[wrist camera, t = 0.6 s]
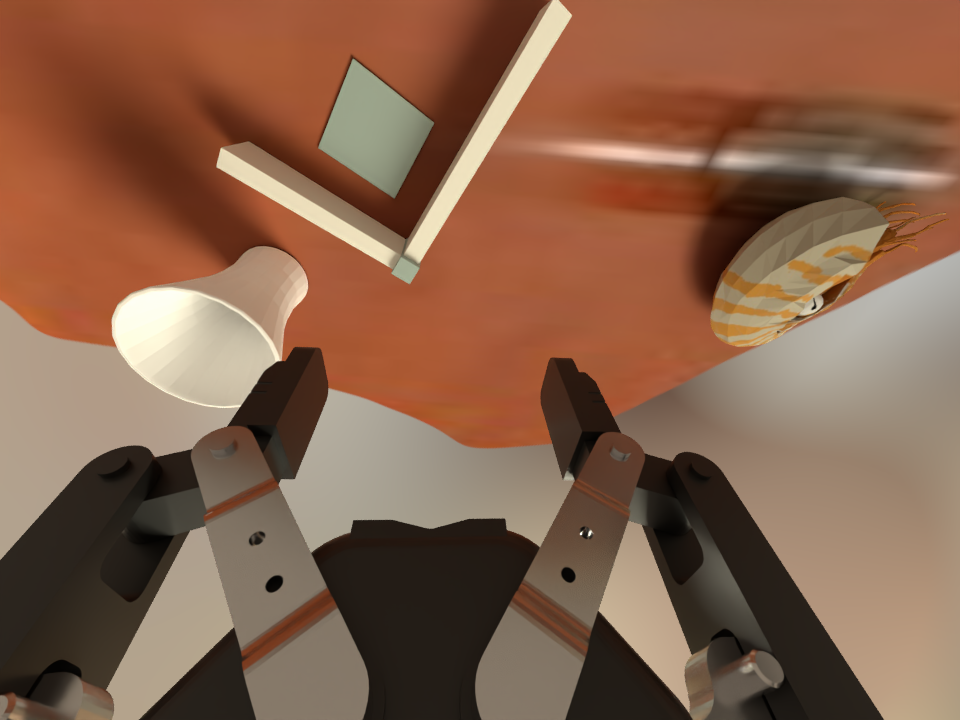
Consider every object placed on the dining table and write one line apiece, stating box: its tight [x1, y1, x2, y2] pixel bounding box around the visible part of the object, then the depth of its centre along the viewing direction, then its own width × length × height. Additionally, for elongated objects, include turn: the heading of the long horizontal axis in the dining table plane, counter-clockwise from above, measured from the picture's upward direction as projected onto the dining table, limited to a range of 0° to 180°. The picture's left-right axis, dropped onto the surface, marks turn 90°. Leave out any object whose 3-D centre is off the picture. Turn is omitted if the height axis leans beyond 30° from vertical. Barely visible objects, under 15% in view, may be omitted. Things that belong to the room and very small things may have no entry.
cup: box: [112, 246, 308, 408], centre depth 31 cm, size 10×10×14 cm
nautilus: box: [711, 197, 949, 347], centre depth 36 cm, size 8×22×15 cm
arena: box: [216, 0, 572, 284], centre depth 26 cm, size 22×16×5 cm
